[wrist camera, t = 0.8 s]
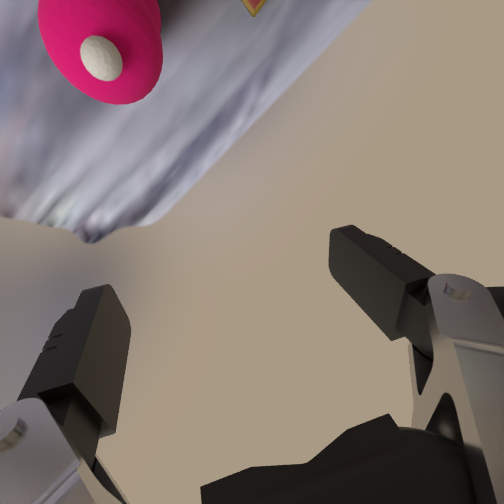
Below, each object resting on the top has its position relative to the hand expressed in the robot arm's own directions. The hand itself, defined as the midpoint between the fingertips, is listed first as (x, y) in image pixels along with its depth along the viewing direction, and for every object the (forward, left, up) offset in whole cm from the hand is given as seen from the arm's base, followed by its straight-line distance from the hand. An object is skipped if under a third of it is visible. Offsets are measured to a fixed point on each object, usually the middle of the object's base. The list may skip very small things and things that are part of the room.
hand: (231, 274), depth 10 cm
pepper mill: (-5, -1, -30) cm, 31 cm away
